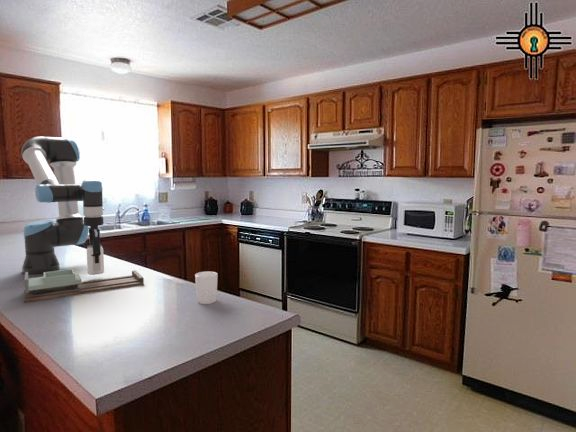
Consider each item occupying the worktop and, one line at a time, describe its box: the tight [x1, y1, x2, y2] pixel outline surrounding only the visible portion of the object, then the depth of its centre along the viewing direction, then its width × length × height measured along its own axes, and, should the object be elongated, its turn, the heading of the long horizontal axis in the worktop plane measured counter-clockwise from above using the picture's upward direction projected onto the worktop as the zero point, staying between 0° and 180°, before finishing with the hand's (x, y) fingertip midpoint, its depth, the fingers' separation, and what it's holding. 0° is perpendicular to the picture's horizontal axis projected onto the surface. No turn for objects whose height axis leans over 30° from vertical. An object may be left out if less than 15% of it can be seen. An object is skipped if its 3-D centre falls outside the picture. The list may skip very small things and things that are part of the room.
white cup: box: [194, 270, 218, 305], centre depth 139 cm, size 8×8×10 cm
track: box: [23, 269, 145, 303], centre depth 155 cm, size 15×41×3 cm, turn 123°
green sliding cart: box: [24, 268, 83, 294], centre depth 149 cm, size 13×18×6 cm
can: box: [86, 244, 105, 276], centre depth 169 cm, size 6×6×12 cm
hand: (95, 268), depth 169 cm, fingers closed on can, 6 cm apart
